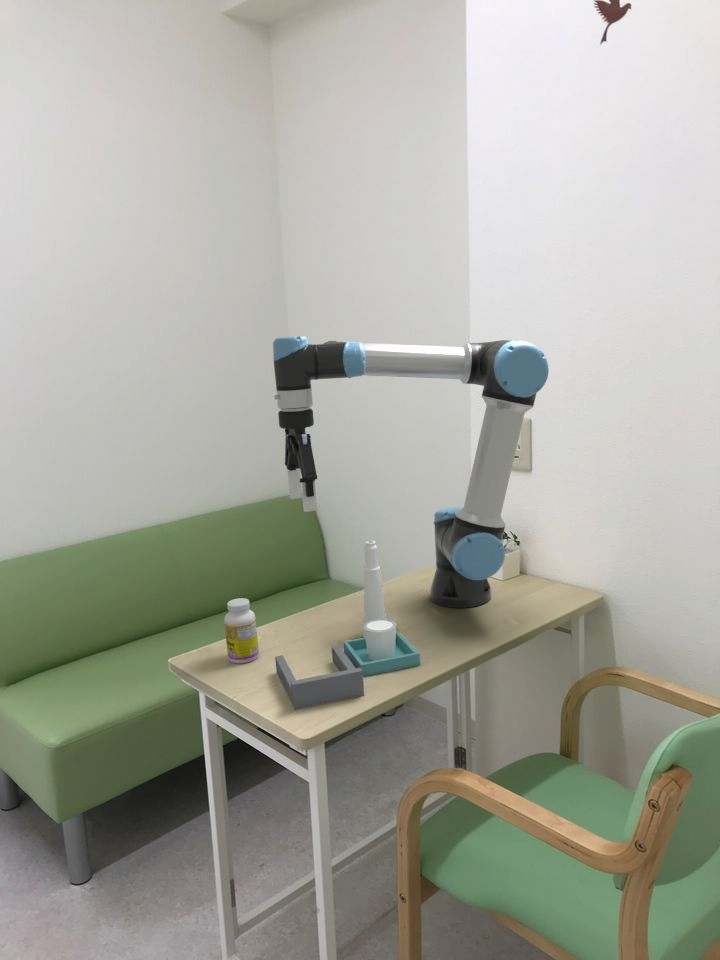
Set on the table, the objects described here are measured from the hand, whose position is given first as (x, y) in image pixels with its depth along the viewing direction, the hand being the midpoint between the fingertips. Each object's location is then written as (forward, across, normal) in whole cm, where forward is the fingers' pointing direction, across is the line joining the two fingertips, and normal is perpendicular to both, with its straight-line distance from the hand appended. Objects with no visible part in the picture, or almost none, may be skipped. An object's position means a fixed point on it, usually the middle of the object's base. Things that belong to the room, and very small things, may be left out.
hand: (302, 504), depth 170 cm
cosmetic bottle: (+31, +7, +13) cm, 34 cm away
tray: (+31, +19, +10) cm, 37 cm away
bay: (+31, +24, -5) cm, 40 cm away
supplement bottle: (+31, +6, -17) cm, 36 cm away
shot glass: (+30, +19, +10) cm, 37 cm away
